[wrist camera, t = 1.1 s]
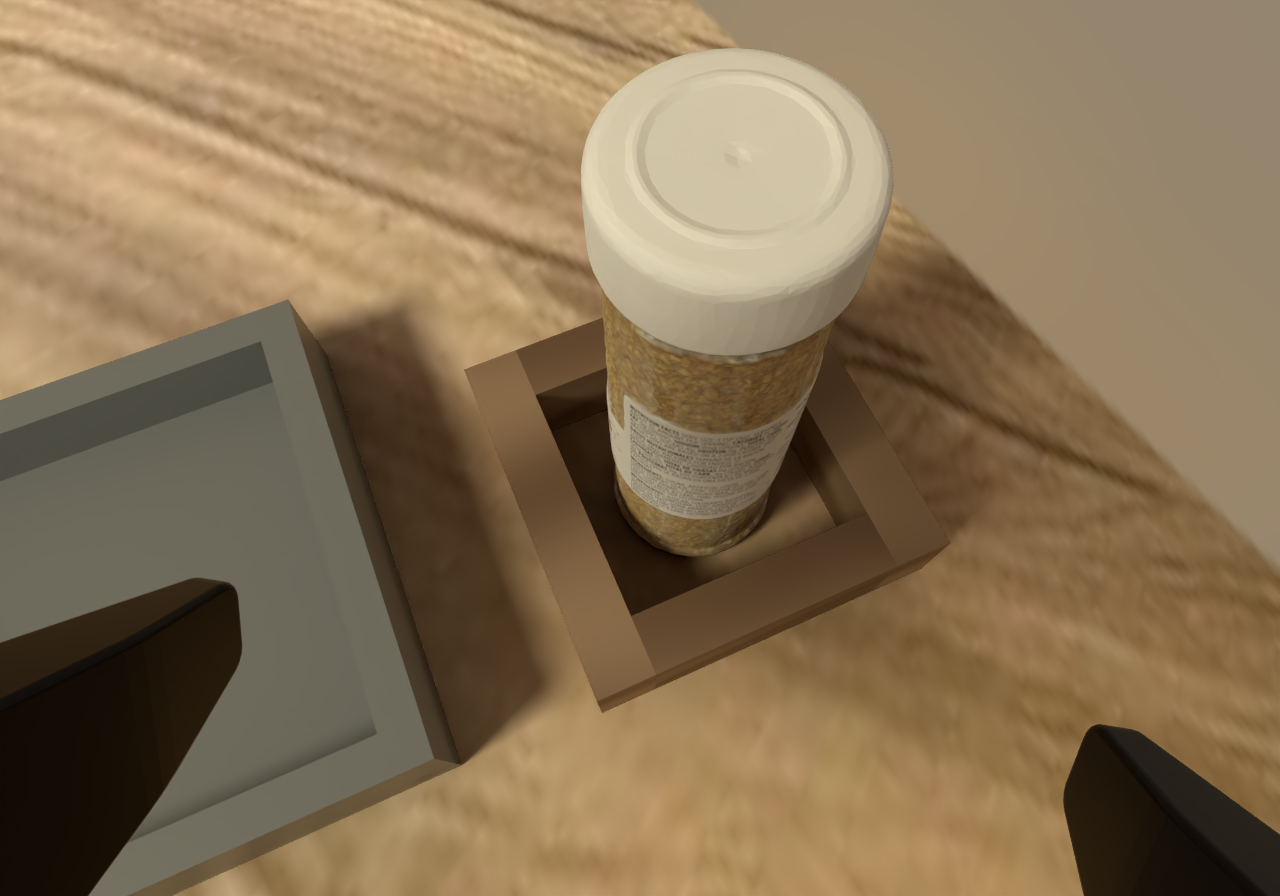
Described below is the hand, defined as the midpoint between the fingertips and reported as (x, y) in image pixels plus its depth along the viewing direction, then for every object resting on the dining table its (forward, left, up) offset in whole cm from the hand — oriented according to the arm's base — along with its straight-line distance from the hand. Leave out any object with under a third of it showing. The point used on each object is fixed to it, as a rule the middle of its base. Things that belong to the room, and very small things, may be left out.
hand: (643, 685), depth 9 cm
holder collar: (+6, -4, -14) cm, 16 cm away
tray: (+8, +11, -14) cm, 19 cm away
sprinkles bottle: (+6, -4, -14) cm, 16 cm away
